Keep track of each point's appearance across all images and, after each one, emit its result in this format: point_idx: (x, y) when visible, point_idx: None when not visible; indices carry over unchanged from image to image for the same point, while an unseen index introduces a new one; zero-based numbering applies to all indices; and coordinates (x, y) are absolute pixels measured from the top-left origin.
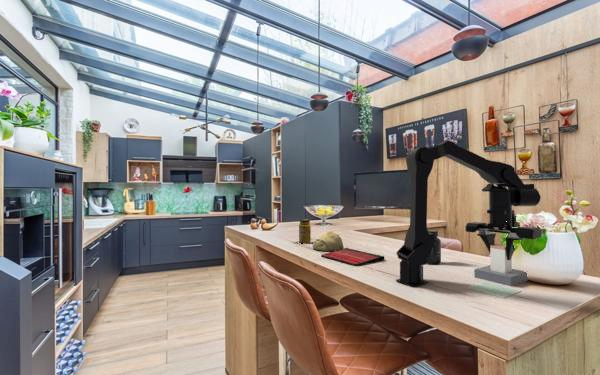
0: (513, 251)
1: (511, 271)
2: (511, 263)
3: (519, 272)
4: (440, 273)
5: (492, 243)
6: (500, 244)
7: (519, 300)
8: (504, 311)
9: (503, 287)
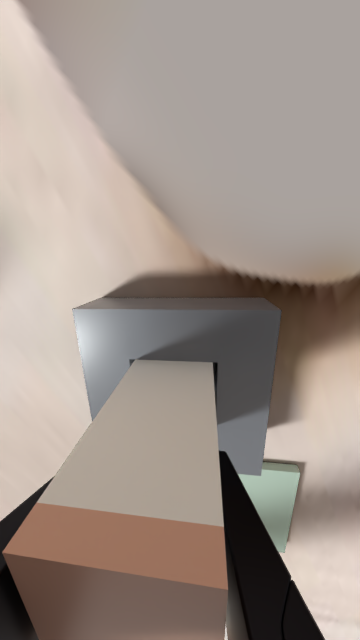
0: (269, 546)
1: (217, 376)
2: (214, 391)
3: (255, 366)
4: (19, 443)
5: (1, 638)
6: (54, 564)
7: (314, 521)
8: (312, 597)
9: (243, 474)
